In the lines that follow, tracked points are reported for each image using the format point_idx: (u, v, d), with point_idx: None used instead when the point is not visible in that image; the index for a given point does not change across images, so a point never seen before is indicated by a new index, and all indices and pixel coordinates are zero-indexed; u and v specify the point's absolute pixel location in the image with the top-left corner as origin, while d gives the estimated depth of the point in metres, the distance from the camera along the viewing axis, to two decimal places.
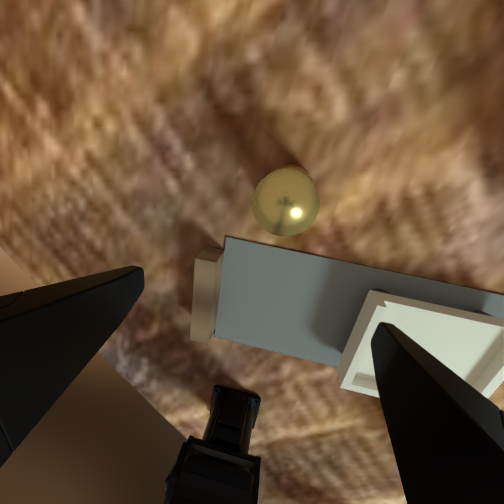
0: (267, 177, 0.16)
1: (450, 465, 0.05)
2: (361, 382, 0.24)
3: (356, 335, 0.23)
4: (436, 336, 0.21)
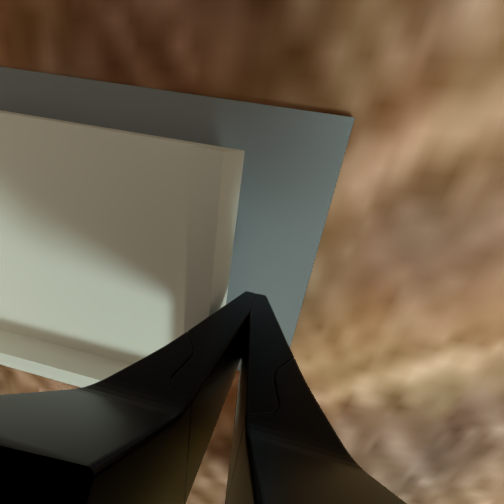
0: None
1: (240, 408, 0.05)
2: None
3: None
4: (53, 198, 0.08)
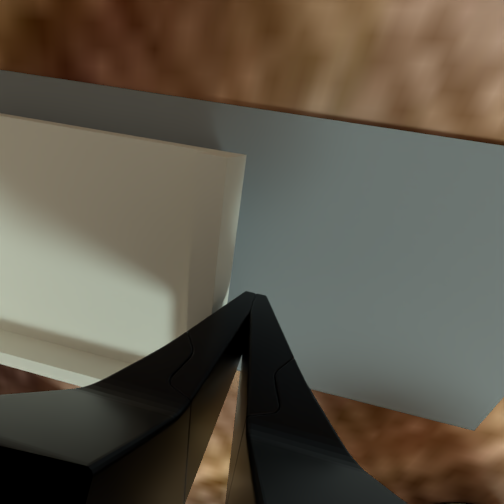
0: None
1: (240, 408, 0.05)
2: None
3: None
4: (58, 201, 0.08)
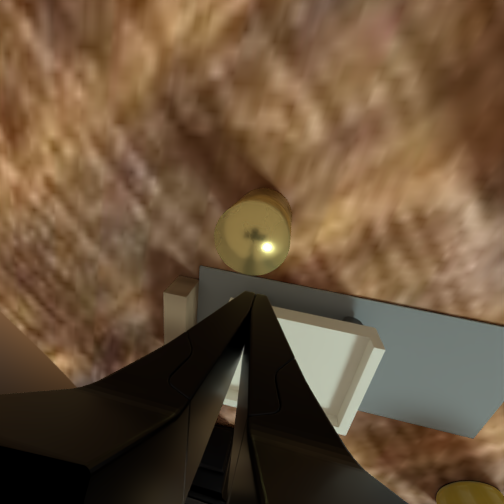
0: (229, 211, 0.14)
1: (241, 408, 0.05)
2: (236, 395, 0.23)
3: None
4: (296, 345, 0.20)
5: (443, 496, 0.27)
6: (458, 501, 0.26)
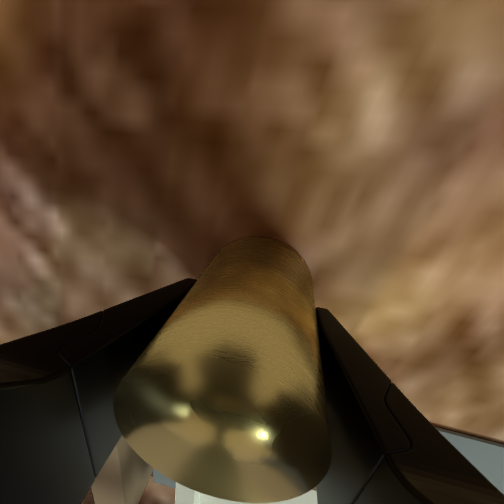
0: (145, 368, 0.04)
1: (340, 435, 0.05)
2: None
3: None
4: None
5: None
6: None
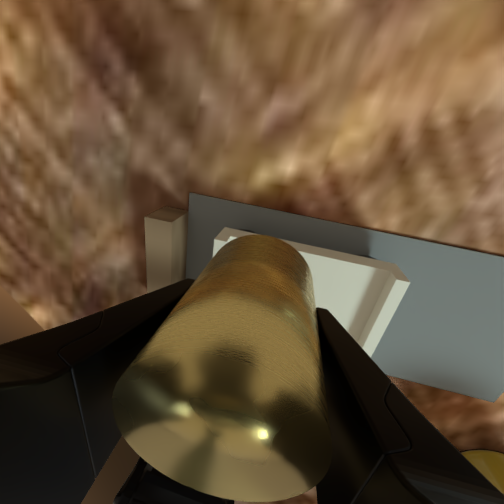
0: (144, 365, 0.04)
1: (340, 435, 0.05)
2: None
3: None
4: None
5: None
6: None
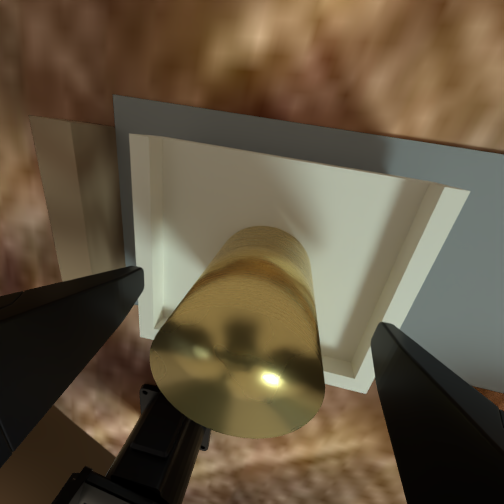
0: (178, 319, 0.06)
1: (450, 465, 0.05)
2: None
3: None
4: (280, 217, 0.10)
5: None
6: None
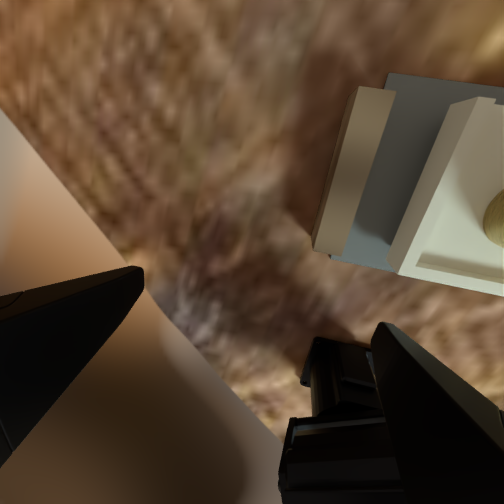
0: None
1: (450, 465, 0.05)
2: (429, 266, 0.16)
3: (427, 184, 0.15)
4: None
5: None
6: None
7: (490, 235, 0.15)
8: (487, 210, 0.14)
